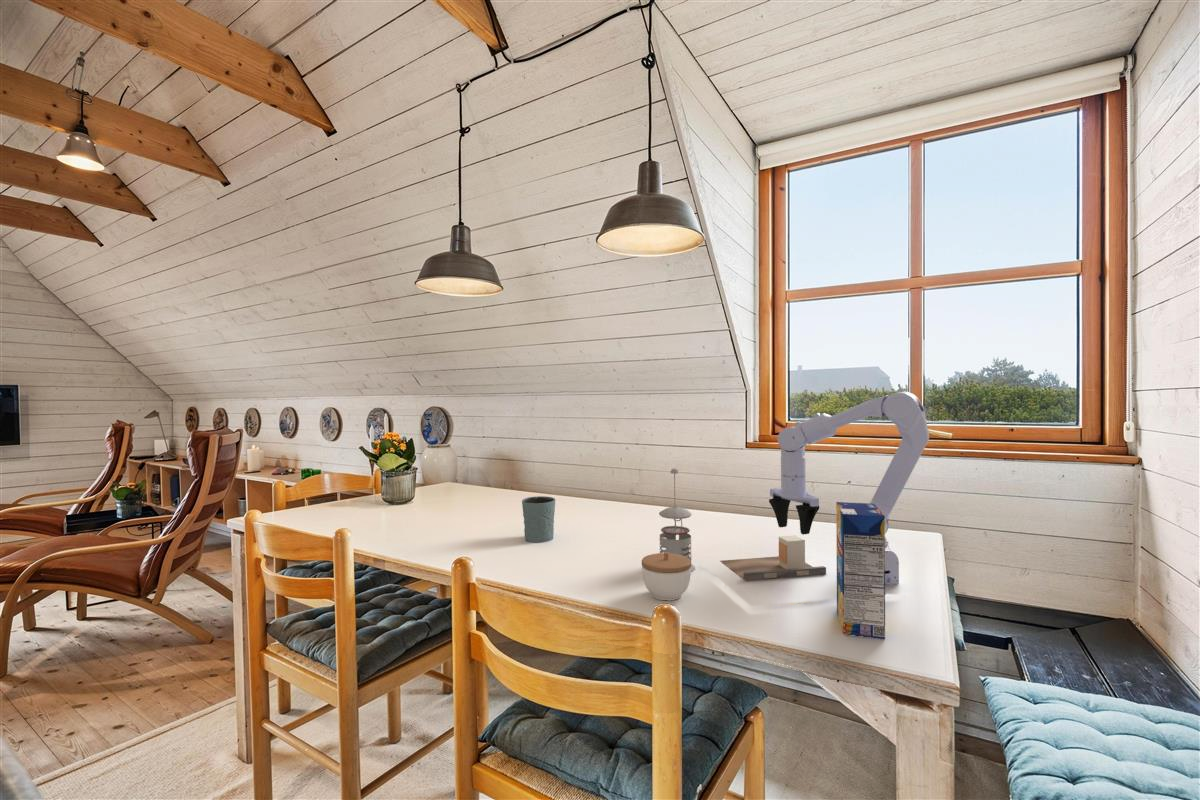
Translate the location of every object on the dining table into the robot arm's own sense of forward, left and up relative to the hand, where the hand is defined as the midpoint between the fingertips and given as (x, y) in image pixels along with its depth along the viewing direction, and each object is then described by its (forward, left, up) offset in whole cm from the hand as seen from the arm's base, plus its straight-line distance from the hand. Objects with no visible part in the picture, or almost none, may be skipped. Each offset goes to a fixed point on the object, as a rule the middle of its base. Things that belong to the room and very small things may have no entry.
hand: (793, 530), depth 137 cm
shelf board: (-1, +7, -10) cm, 12 cm away
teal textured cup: (+42, +60, -10) cm, 74 cm away
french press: (+8, +28, -10) cm, 30 cm away
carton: (-2, +2, -8) cm, 9 cm away
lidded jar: (-10, +36, -10) cm, 39 cm away
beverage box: (-32, +5, -10) cm, 34 cm away
